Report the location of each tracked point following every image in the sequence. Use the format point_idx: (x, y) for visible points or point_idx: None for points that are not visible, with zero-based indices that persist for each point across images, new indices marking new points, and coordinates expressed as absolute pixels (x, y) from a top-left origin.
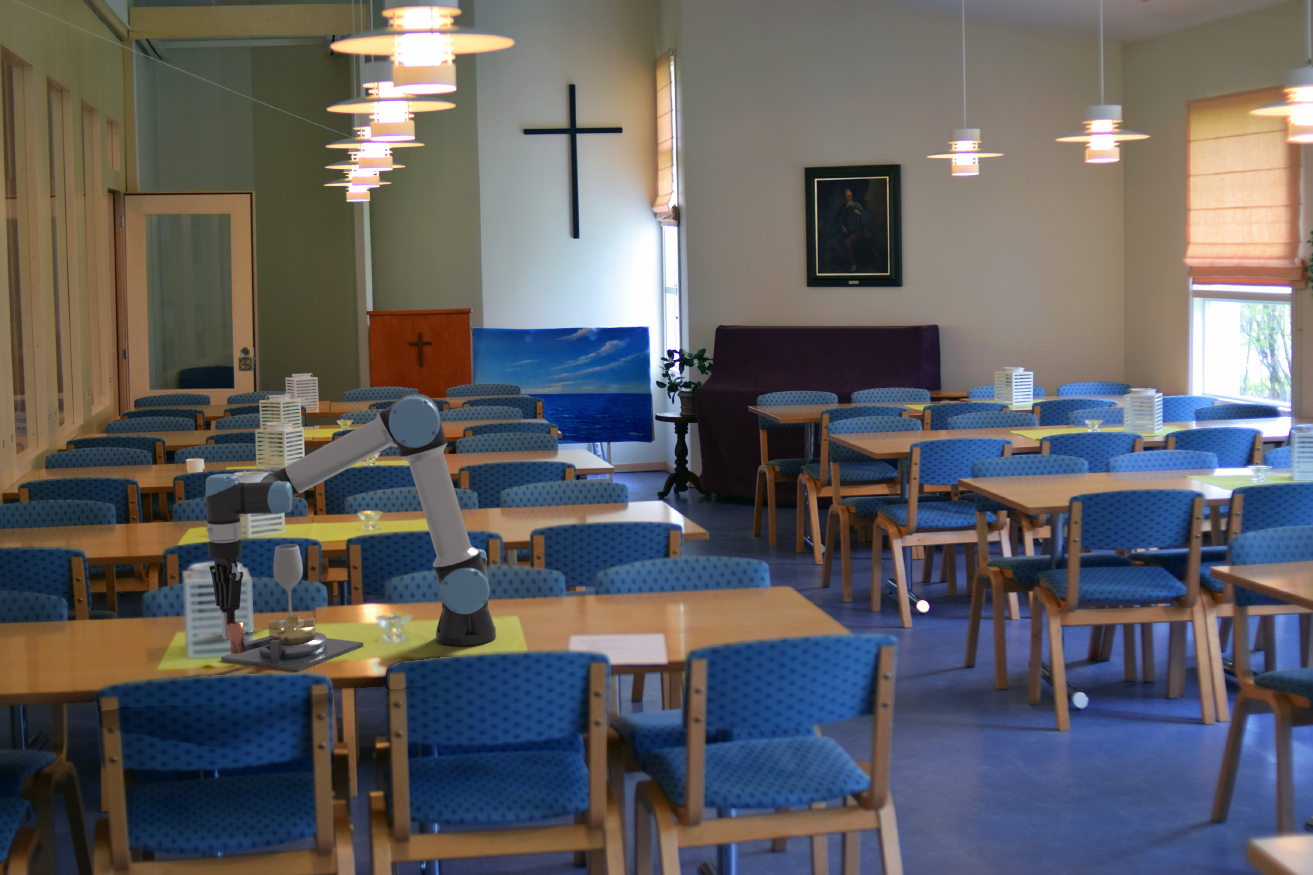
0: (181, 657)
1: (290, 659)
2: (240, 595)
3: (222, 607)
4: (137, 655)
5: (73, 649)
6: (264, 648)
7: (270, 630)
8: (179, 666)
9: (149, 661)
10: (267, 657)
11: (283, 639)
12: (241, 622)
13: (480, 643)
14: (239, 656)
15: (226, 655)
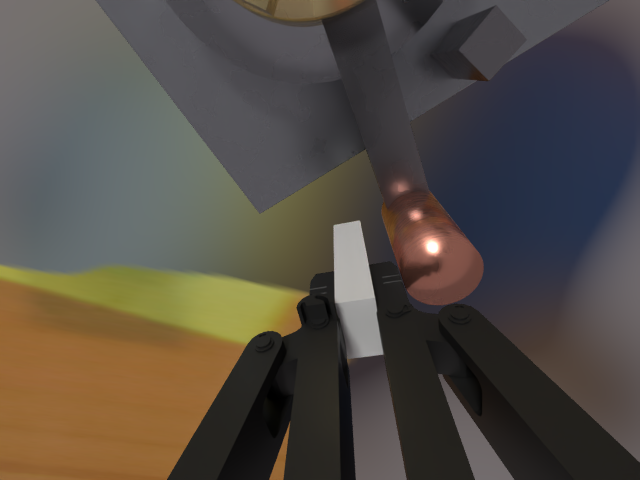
0: (165, 285)
1: None
2: (569, 397)
3: (347, 370)
4: (102, 354)
5: (6, 425)
6: None
7: (312, 17)
8: (260, 307)
9: (173, 346)
10: None
11: None
12: (458, 251)
13: None
14: (288, 160)
15: (250, 194)
